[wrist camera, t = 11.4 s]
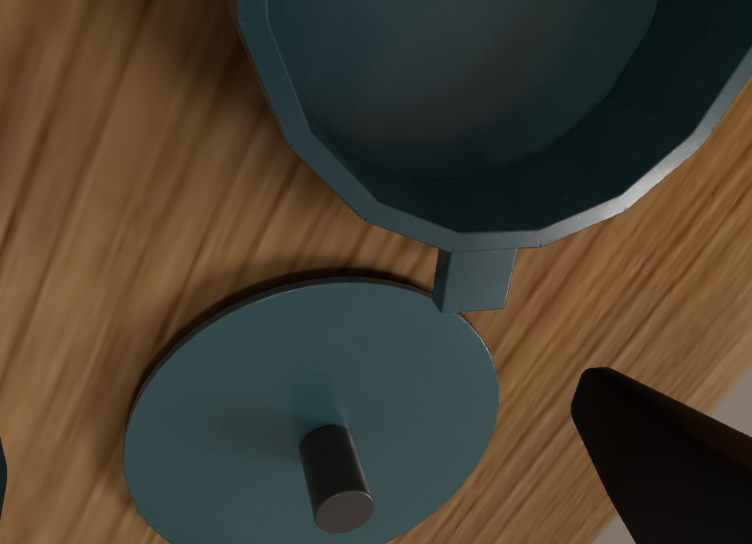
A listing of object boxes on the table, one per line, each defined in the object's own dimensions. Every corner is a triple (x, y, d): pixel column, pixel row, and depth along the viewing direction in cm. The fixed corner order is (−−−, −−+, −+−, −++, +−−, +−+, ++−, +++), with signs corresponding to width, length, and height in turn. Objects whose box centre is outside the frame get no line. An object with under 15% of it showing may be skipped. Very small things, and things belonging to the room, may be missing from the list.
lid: (146, 579, 29) (140, 683, 25) (98, 282, 21) (79, 365, 17) (461, 519, 33) (499, 598, 29) (519, 256, 25) (581, 317, 22)
